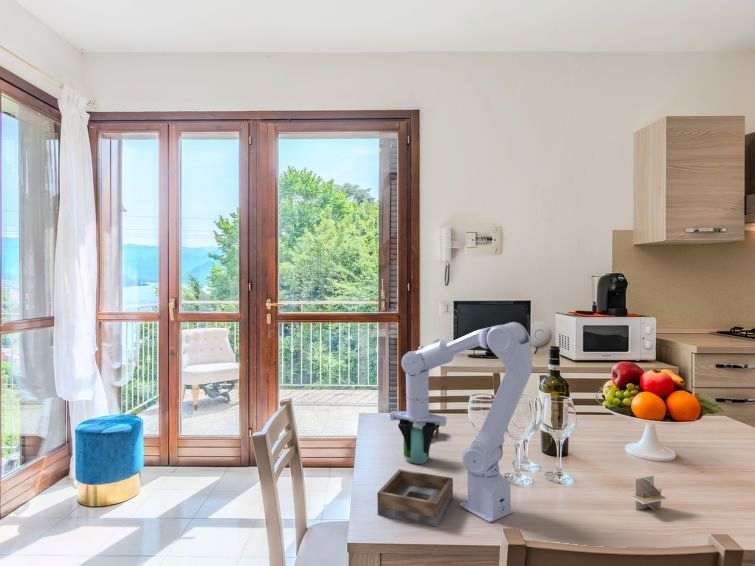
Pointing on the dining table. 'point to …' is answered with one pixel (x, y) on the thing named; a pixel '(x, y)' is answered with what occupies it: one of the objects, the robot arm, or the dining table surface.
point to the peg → (417, 445)
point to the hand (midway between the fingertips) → (418, 450)
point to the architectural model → (647, 493)
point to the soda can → (408, 453)
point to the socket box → (416, 497)
